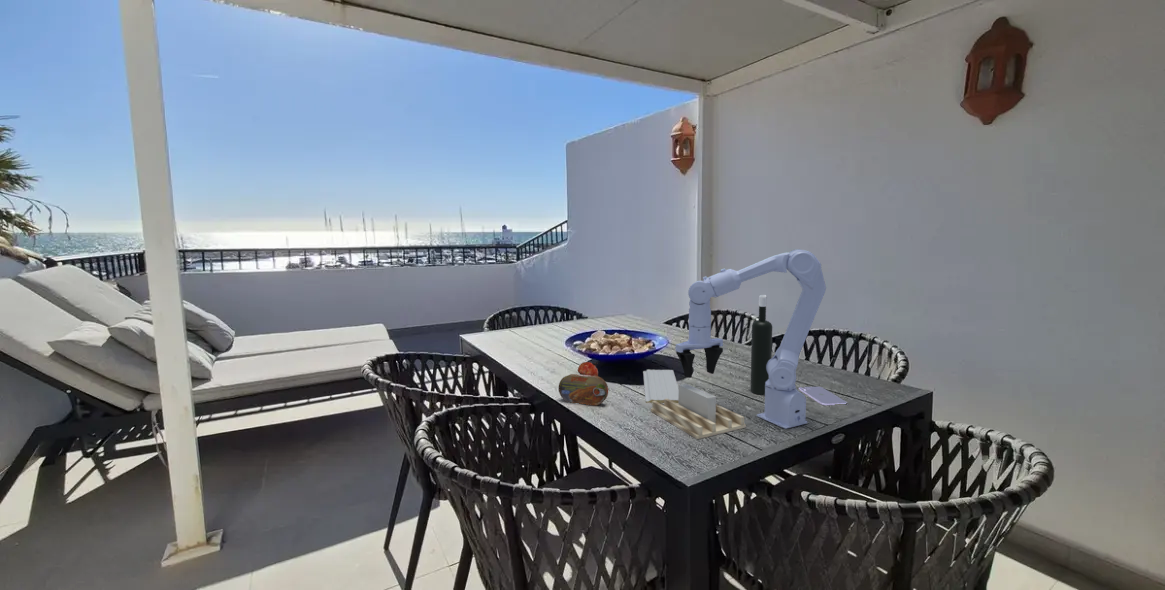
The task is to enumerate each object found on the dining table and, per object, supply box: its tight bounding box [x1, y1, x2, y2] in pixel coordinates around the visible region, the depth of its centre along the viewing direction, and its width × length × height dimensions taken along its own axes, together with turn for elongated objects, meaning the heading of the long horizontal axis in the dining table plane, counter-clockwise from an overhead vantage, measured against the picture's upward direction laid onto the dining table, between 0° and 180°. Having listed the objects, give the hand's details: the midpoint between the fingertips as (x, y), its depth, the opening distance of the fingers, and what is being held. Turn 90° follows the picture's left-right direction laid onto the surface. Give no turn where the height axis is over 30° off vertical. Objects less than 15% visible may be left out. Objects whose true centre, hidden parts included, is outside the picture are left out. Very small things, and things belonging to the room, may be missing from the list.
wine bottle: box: [749, 294, 773, 396], centre depth 137 cm, size 6×6×30 cm
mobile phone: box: [798, 386, 848, 406], centre depth 134 cm, size 8×1×15 cm
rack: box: [650, 399, 747, 440], centre depth 119 cm, size 20×15×3 cm
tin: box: [558, 373, 609, 407], centre depth 132 cm, size 15×3×8 cm, turn 68°
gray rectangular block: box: [678, 383, 717, 424], centre depth 118 cm, size 12×2×7 cm, turn 24°
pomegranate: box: [577, 361, 599, 377], centre depth 152 cm, size 7×7×10 cm
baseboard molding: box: [641, 365, 679, 404], centre depth 147 cm, size 31×3×12 cm
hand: (699, 374), depth 123 cm, fingers open, 7 cm apart
